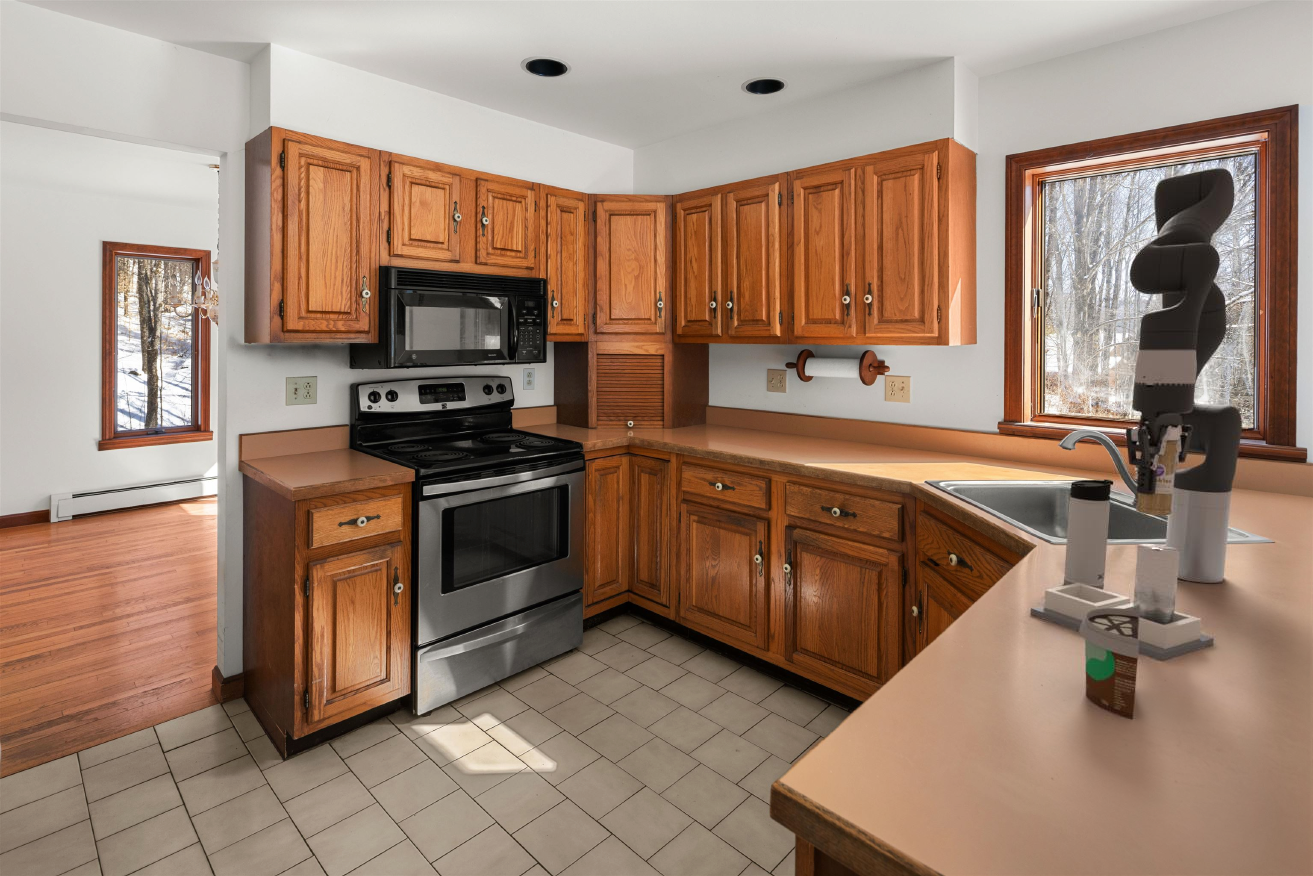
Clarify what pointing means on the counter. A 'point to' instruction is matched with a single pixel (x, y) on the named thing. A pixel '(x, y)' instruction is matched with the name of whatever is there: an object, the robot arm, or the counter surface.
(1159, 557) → the cylinder
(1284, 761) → the counter surface
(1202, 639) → the grey and white holder
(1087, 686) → the food container
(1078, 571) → the travel mug
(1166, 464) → the sprinkles bottle
